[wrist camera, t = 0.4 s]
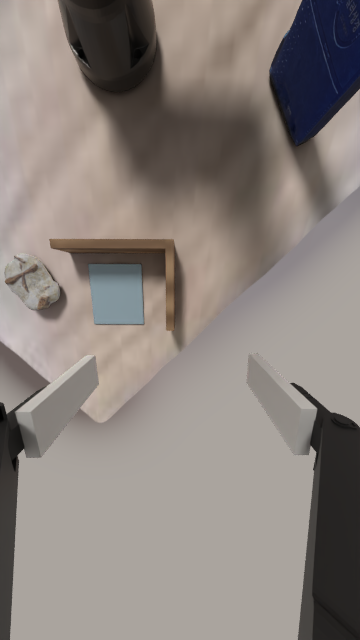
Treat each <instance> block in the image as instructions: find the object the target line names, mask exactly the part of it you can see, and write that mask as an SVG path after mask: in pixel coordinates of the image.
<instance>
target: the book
mask: <svg viewBox="0 0 360 640" xmlns="http://www.w3.org/2000/svg"><path fill="white" fill-rule="evenodd" d="M269 71H270V79H271V83H272V85H273V88H274V90H275V93H276V96H277V99H278V103H279V105H280V109H281V112H282V115H283V117H284V119H285V122H286V125H287V128H288V130H289V133H290V136H291V137H292V139H293V140H294V142H295V144H296V146H298V145H300V144H302V143H304V142H306V141H308V140H309V139H310V138H312V137H314V136H315V135H316V134H317V133H318V132H319V131H320V130H321V129H322V128H323V127H324V126H325V125H326V124H327V123H328V122H329V121H330V120H331V119H332V118H333V116H334V115H335V114H336V113H337V112H338V111H339V110H340V109H341V108H342V107H343V106H344V105H345V104H346V103H347V102H348V101H349V100H350V98H351V97H352V96H353V95H354V94H355V93H356V92H357V91H358V90H359V89H360V0H302V2H301V5H300V7H299V9H298V11H297V14H296V17H295V19H294V21H293V24H292V26H291V28H290V30H289V31H288V32H287V33H286V34H285V36H284V37H283V39H282V41H281V43H280V45H279V48H278V49H277V51H276V54H275V57H274V59H273V62H272V64H271V68H270V70H269Z"/></svg>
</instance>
